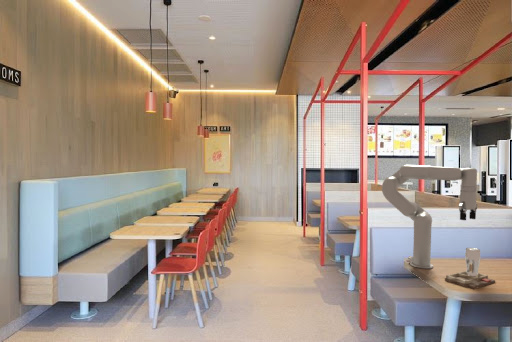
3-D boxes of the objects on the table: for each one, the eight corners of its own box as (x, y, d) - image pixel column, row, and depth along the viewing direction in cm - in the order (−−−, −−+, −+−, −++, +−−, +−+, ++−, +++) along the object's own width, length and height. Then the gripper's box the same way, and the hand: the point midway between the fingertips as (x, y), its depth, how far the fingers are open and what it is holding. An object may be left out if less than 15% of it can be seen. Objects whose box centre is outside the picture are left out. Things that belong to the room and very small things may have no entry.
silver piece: (482, 278, 192) (483, 250, 192) (470, 278, 192) (471, 250, 192) (473, 274, 199) (474, 247, 199) (461, 274, 199) (462, 247, 198)
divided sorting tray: (444, 280, 193) (444, 275, 192) (466, 274, 203) (466, 269, 203) (473, 288, 180) (474, 283, 180) (495, 282, 190) (495, 277, 190)
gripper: (470, 188, 215) (469, 217, 215) (453, 189, 206) (452, 219, 206) (483, 189, 209) (482, 219, 209) (466, 190, 200) (465, 221, 200)
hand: (467, 219), depth 208 cm, fingers open, 9 cm apart
